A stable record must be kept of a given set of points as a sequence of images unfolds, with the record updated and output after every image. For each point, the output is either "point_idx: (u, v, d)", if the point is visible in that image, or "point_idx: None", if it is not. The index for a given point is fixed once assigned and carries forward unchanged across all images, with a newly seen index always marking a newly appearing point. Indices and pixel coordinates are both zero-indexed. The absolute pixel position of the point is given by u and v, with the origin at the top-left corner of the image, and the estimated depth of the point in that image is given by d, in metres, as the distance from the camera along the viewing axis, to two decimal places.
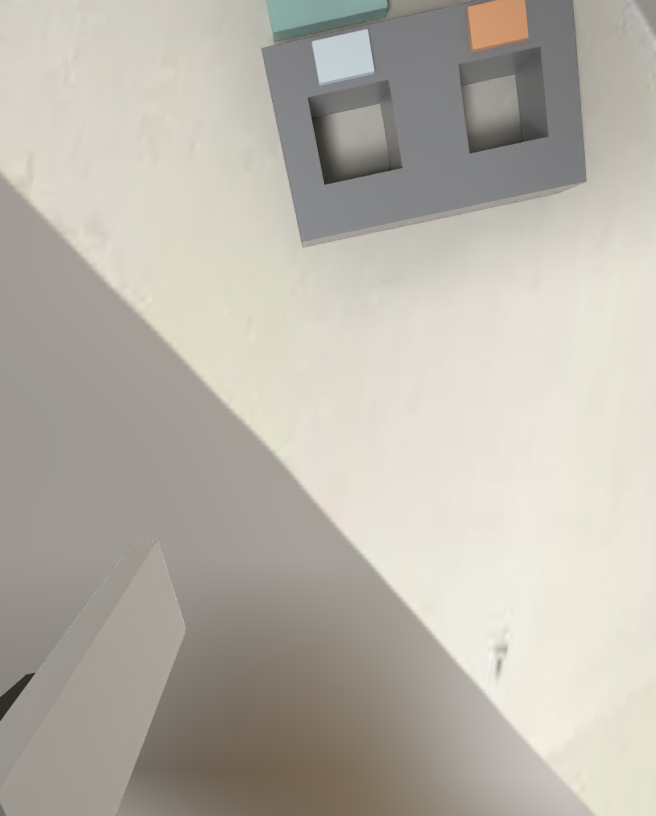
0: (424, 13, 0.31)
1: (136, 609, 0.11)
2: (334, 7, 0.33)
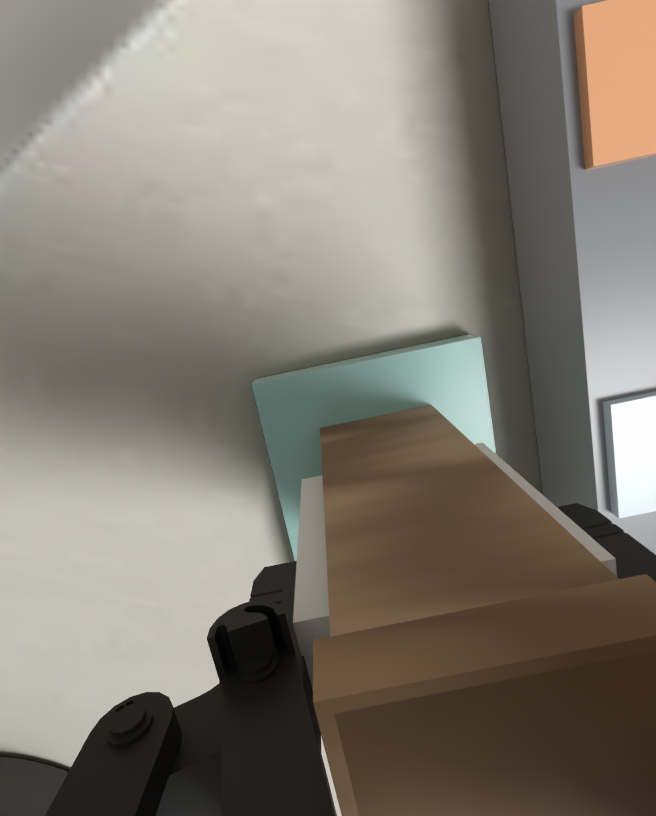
0: (582, 273, 0.13)
1: None
2: (475, 439, 0.17)
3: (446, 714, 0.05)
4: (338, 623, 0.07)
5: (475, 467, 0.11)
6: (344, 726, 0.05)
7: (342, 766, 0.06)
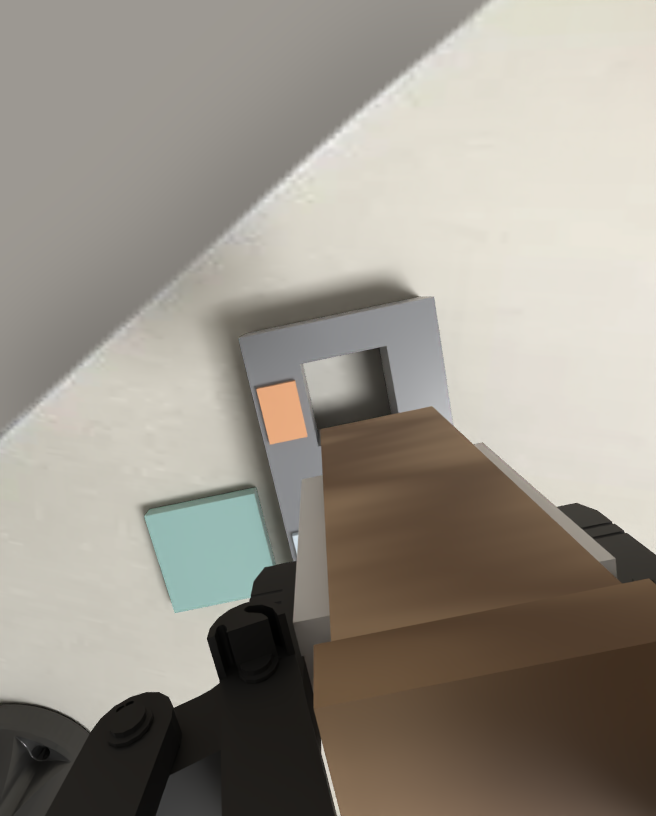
0: (275, 482, 0.31)
1: None
2: (256, 540, 0.35)
3: (447, 721, 0.05)
4: (339, 627, 0.07)
5: (476, 469, 0.11)
6: (345, 732, 0.05)
7: (343, 773, 0.06)
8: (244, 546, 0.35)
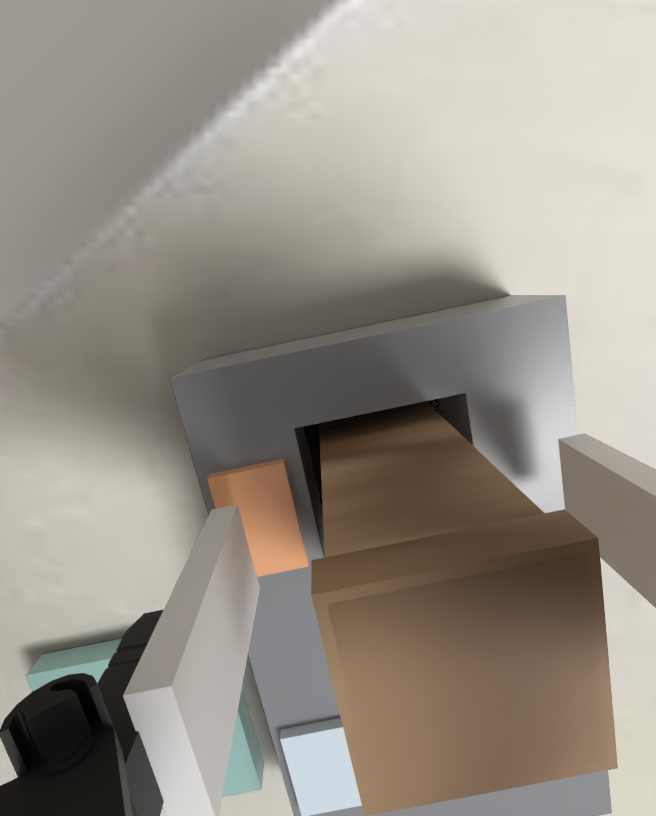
0: None
1: (230, 561, 0.12)
2: None
3: (408, 605, 0.07)
4: (331, 551, 0.09)
5: (449, 442, 0.13)
6: (334, 614, 0.07)
7: (332, 645, 0.08)
8: None
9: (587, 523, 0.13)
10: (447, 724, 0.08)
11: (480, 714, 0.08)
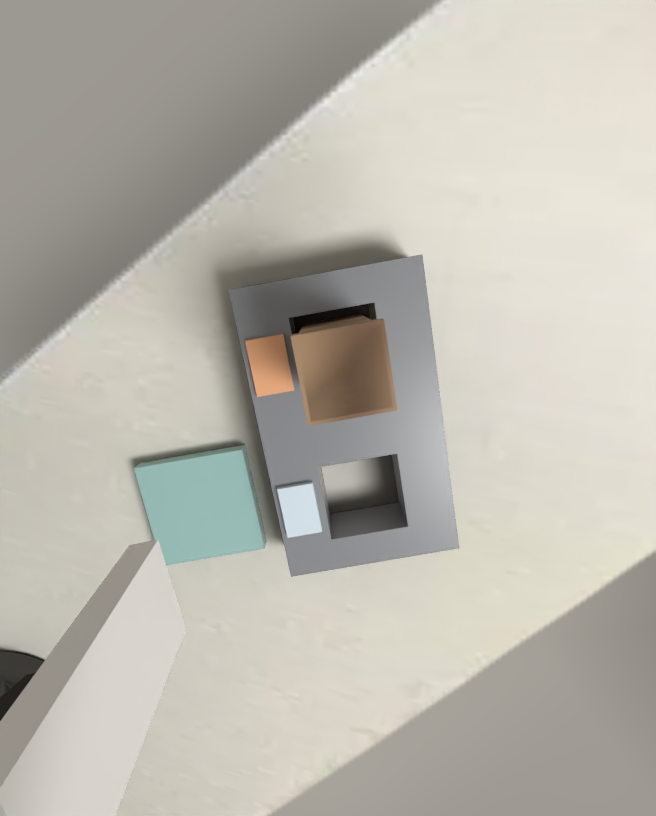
0: (261, 435, 0.32)
1: (136, 609, 0.11)
2: (243, 496, 0.36)
3: (322, 341, 0.23)
4: None
5: (359, 319, 0.28)
6: (298, 343, 0.23)
7: (297, 355, 0.23)
8: (231, 502, 0.36)
9: None
10: (336, 388, 0.23)
11: (347, 385, 0.23)
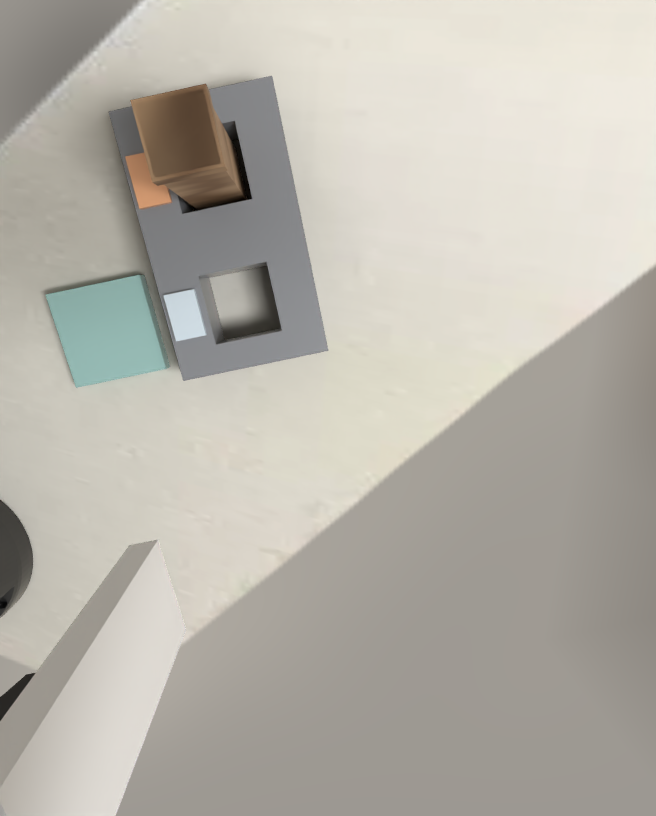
0: (147, 246, 0.37)
1: (136, 609, 0.11)
2: (143, 319, 0.41)
3: (157, 104, 0.28)
4: None
5: None
6: (137, 106, 0.28)
7: (137, 117, 0.28)
8: (133, 324, 0.41)
9: None
10: (172, 147, 0.28)
11: (181, 144, 0.28)
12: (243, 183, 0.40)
